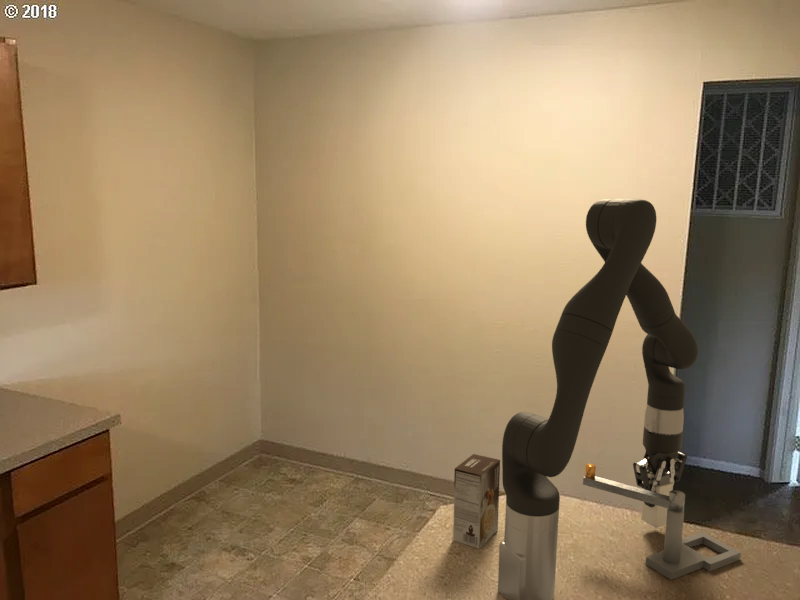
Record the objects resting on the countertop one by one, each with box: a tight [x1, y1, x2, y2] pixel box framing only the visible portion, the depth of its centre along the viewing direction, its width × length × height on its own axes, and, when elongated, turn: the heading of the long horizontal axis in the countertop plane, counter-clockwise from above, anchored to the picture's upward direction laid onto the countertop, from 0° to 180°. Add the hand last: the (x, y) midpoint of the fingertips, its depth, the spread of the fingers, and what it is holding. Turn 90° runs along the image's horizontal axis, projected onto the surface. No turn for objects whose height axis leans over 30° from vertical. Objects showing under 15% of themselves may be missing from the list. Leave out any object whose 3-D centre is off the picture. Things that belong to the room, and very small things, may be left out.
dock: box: [645, 508, 742, 580], centre depth 133 cm, size 18×9×12 cm, turn 118°
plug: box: [641, 472, 674, 529], centre depth 143 cm, size 4×4×11 cm
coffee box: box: [452, 453, 501, 550], centre depth 141 cm, size 9×6×16 cm
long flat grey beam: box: [582, 463, 686, 512], centre depth 134 cm, size 19×3×4 cm, turn 54°
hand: (656, 502), depth 144 cm, fingers closed on plug, 4 cm apart
